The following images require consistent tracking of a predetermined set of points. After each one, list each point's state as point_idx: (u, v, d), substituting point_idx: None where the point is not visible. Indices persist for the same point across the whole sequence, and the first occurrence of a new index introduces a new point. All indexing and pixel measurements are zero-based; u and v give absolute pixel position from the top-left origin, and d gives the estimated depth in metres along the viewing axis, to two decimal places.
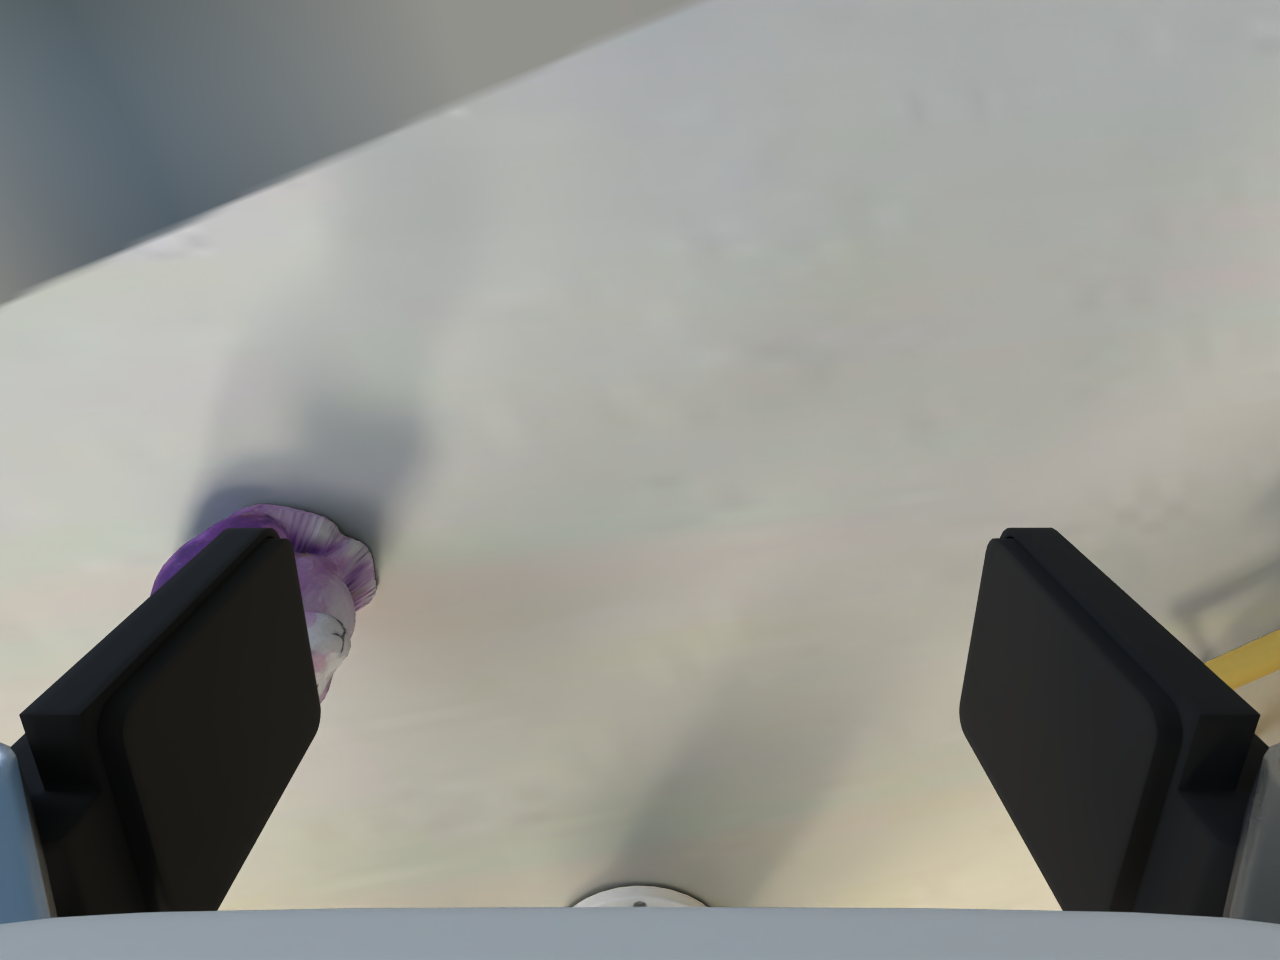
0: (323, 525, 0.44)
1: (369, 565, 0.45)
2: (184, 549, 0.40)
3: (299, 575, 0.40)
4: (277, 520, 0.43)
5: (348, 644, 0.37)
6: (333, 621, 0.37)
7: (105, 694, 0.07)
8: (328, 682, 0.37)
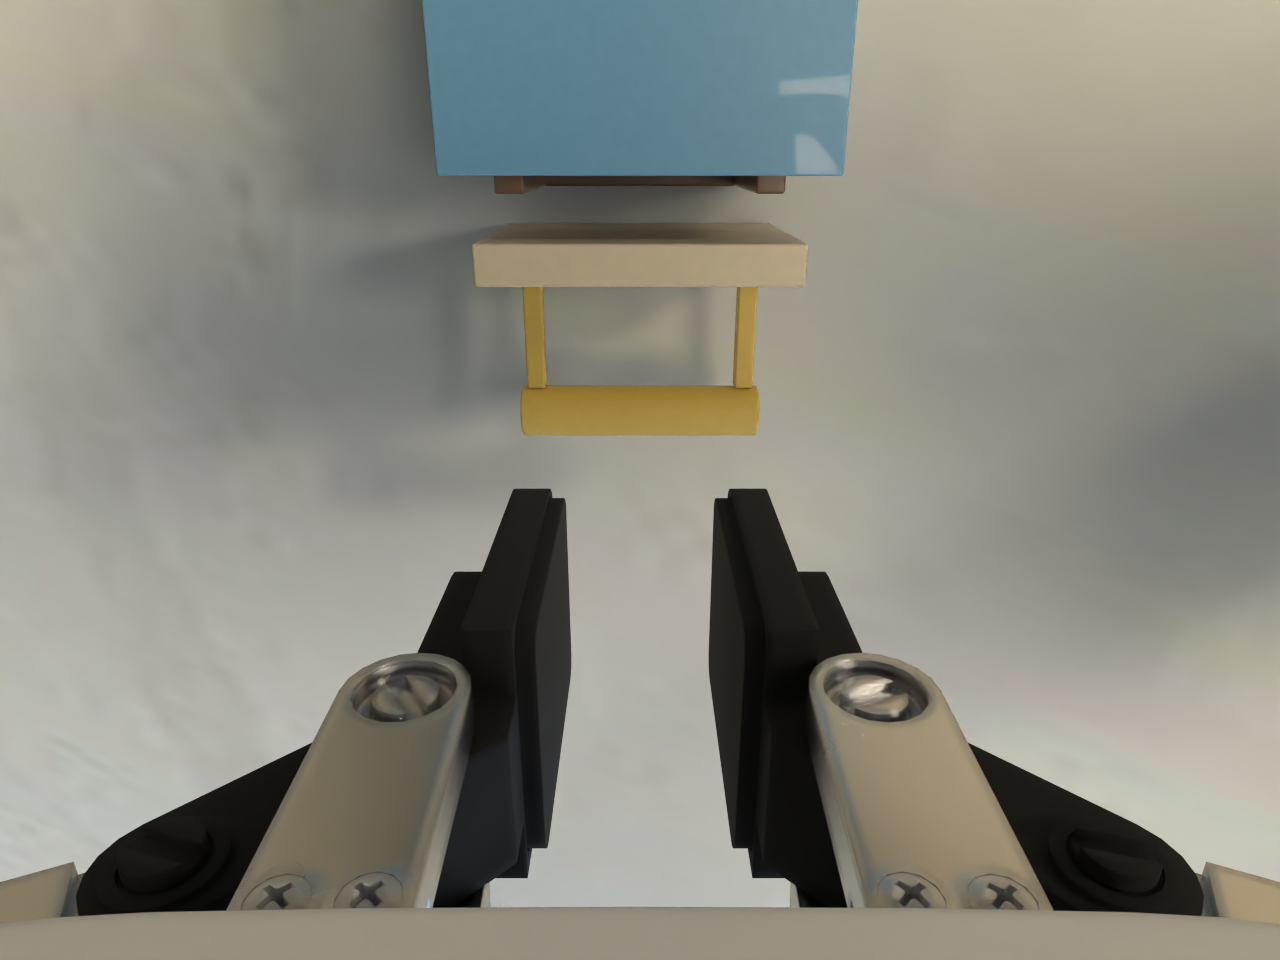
0: None
1: None
2: None
3: None
4: None
5: None
6: None
7: (513, 617, 0.08)
8: None
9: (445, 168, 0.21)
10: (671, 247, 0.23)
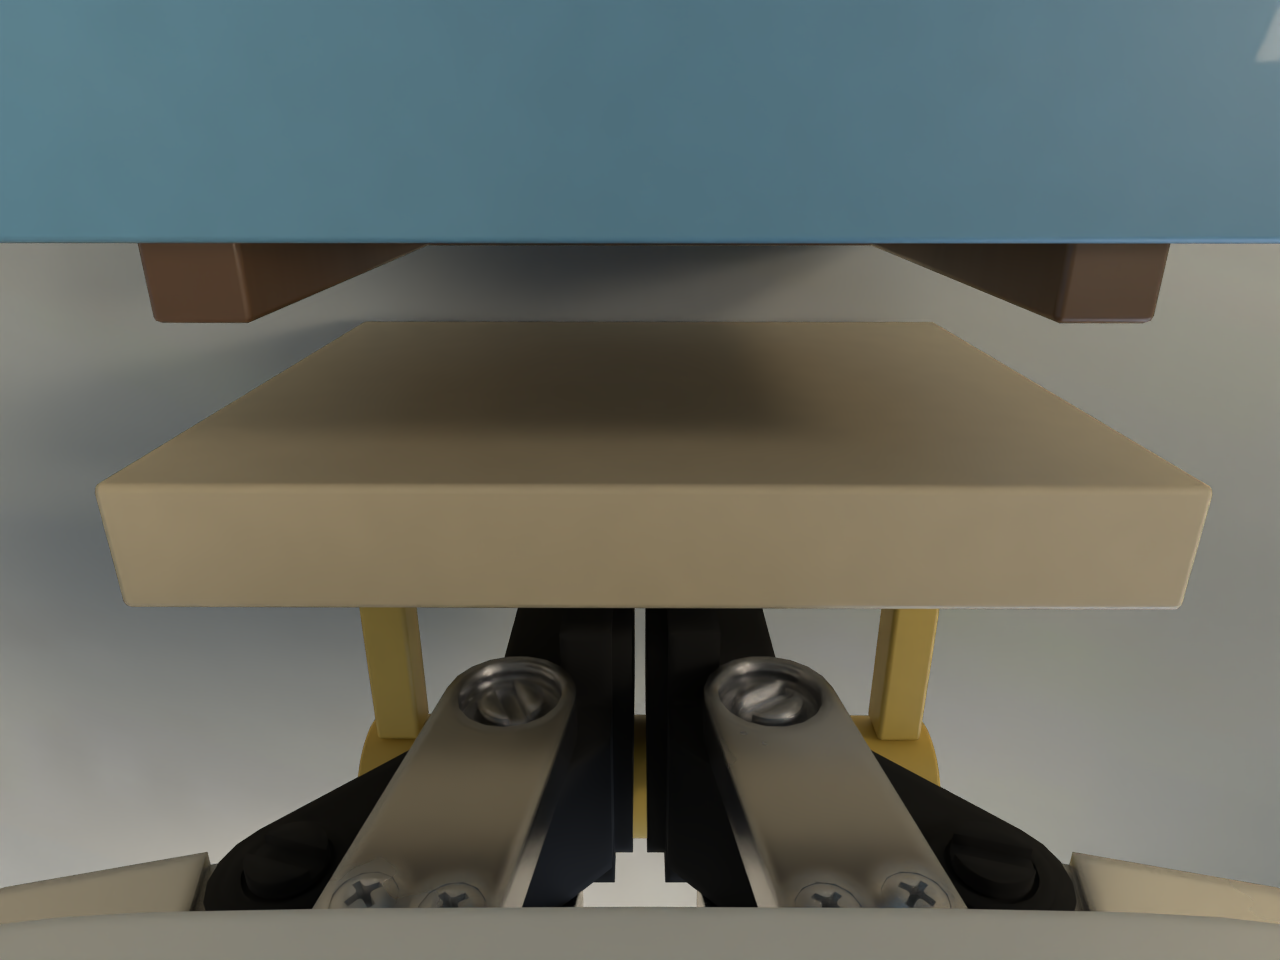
0: None
1: None
2: None
3: None
4: None
5: None
6: None
7: None
8: None
9: None
10: (758, 499, 0.07)
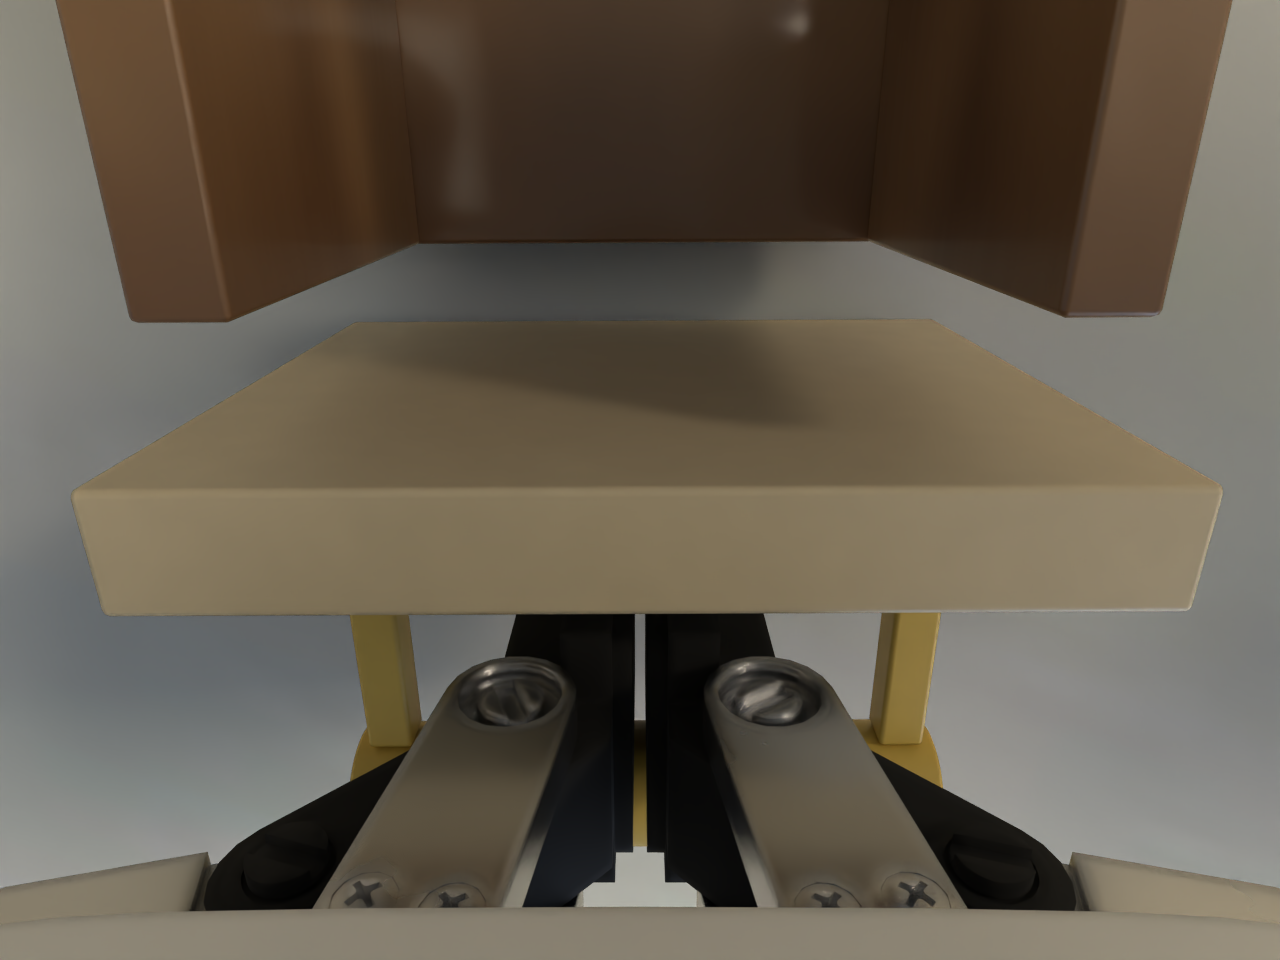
0: None
1: None
2: None
3: None
4: None
5: None
6: None
7: None
8: None
9: None
10: (755, 499, 0.07)
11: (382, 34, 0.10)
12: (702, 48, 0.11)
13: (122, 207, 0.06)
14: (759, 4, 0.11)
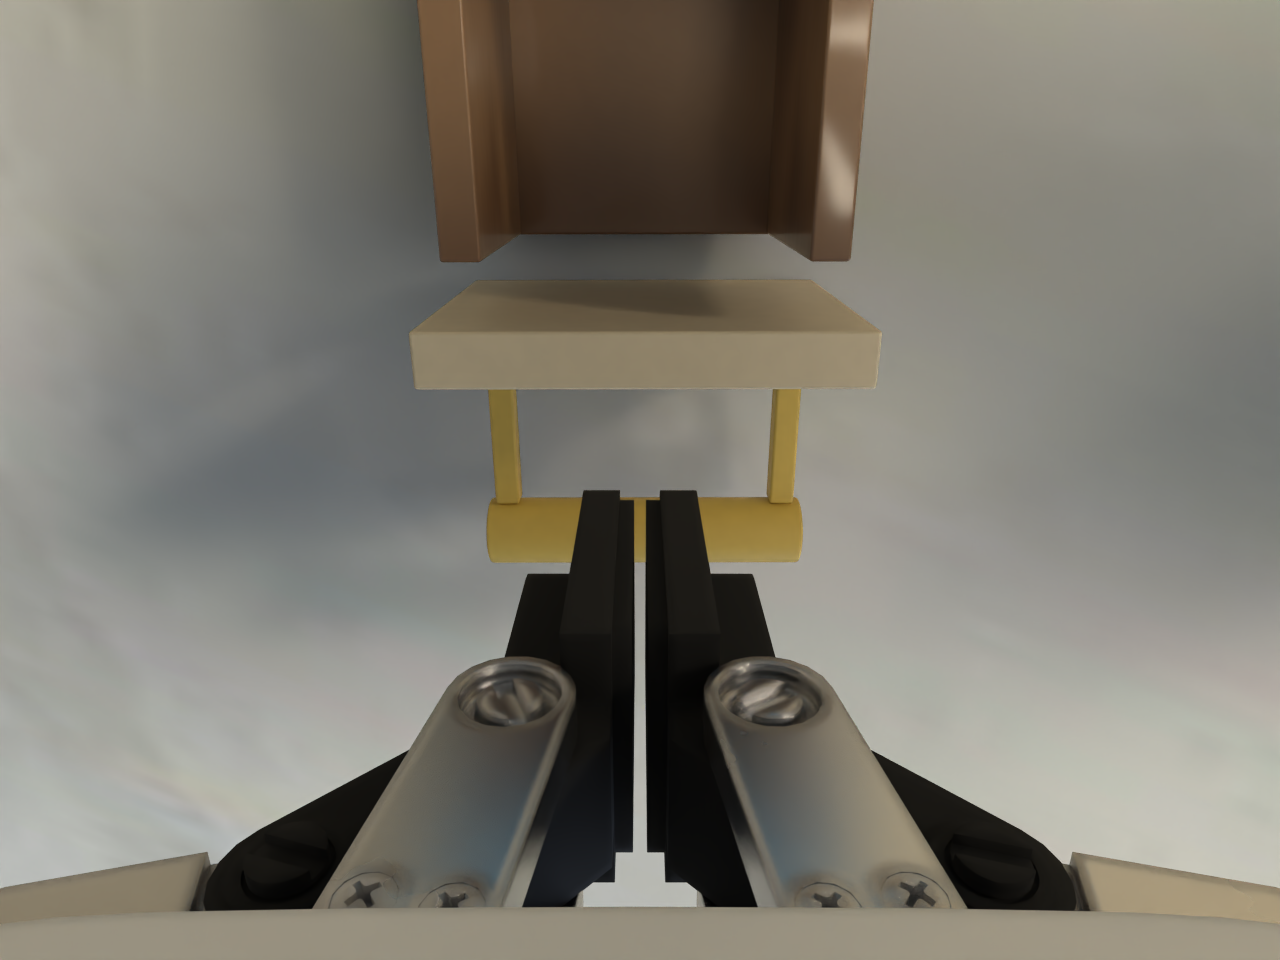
0: None
1: None
2: None
3: None
4: None
5: None
6: None
7: None
8: None
9: None
10: (690, 336, 0.16)
11: (511, 126, 0.20)
12: (675, 130, 0.21)
13: (443, 216, 0.16)
14: (705, 108, 0.20)
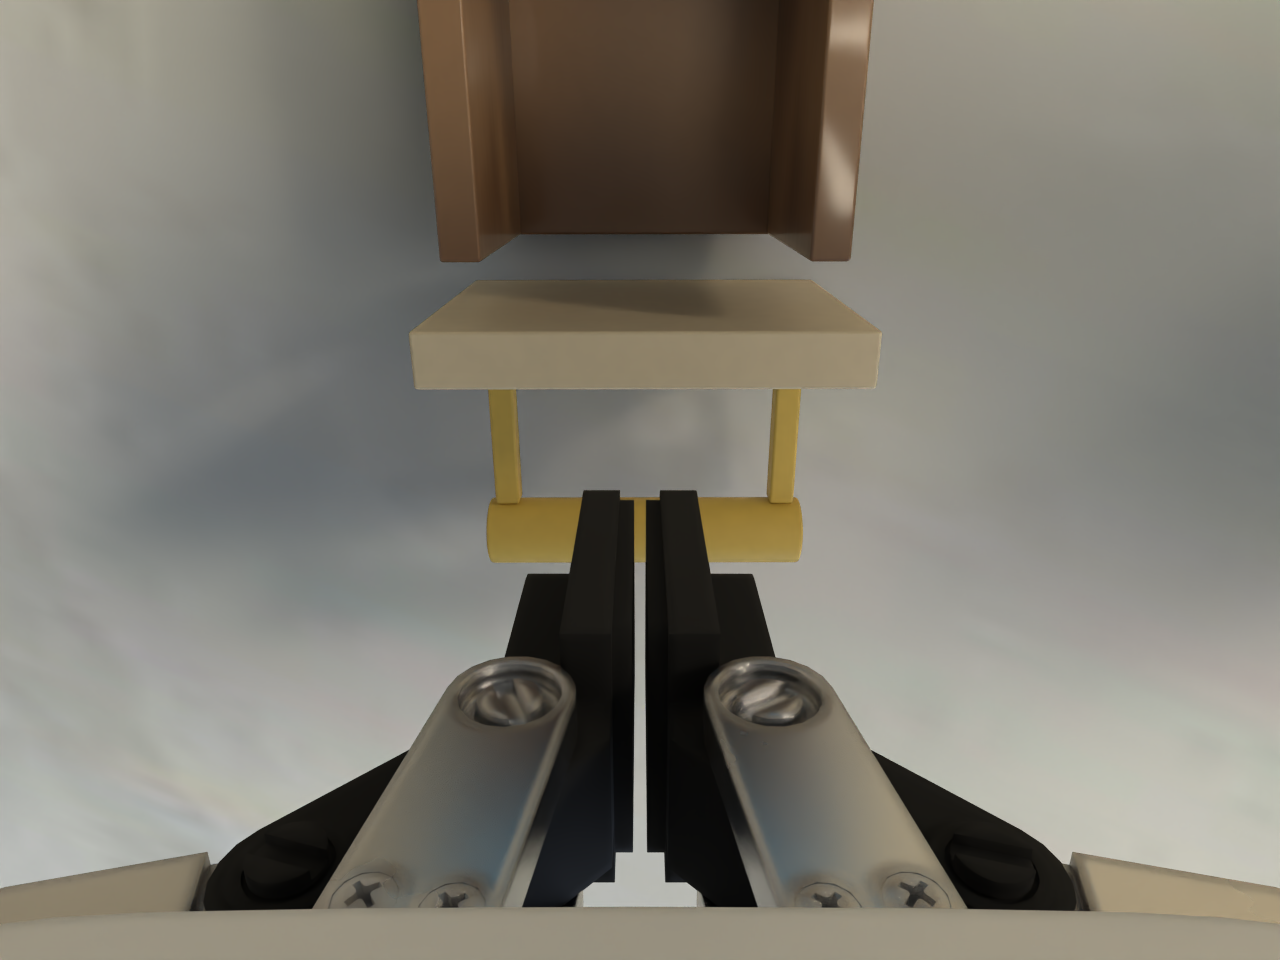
0: None
1: None
2: None
3: None
4: None
5: None
6: None
7: None
8: None
9: None
10: (690, 336, 0.16)
11: (511, 126, 0.20)
12: (676, 130, 0.21)
13: (443, 216, 0.16)
14: (705, 108, 0.20)
